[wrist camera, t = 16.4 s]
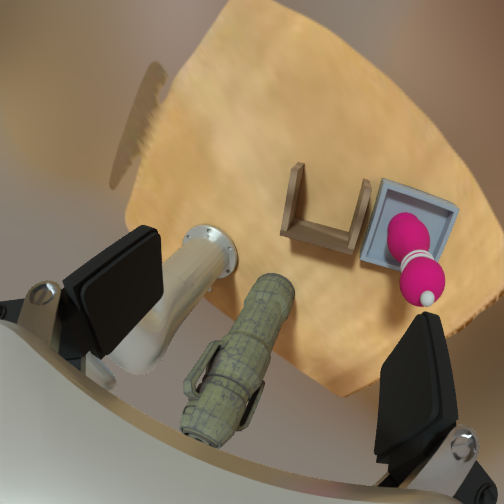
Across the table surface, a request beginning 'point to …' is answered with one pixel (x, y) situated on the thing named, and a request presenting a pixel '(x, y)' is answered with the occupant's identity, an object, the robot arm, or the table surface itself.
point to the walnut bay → (315, 231)
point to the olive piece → (236, 365)
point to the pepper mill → (415, 260)
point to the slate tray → (412, 201)
